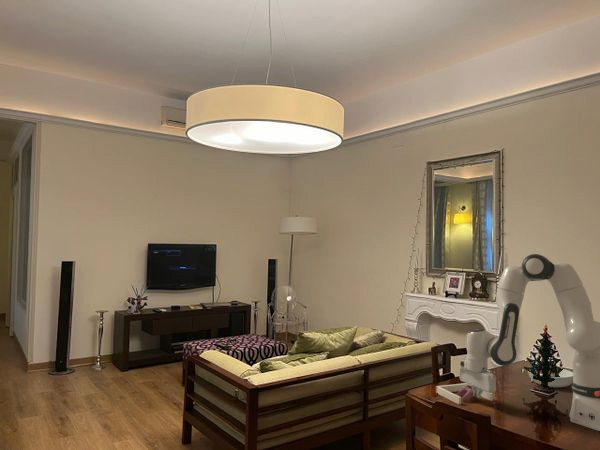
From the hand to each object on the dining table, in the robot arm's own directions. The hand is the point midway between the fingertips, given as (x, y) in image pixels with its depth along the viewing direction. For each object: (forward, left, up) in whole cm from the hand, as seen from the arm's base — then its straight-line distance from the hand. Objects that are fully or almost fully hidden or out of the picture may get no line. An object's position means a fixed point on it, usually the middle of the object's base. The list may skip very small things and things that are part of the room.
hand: (477, 397), depth 210 cm
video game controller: (+6, +1, -3) cm, 7 cm away
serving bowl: (+12, -54, -3) cm, 55 cm away
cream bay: (+9, 0, -3) cm, 9 cm away
